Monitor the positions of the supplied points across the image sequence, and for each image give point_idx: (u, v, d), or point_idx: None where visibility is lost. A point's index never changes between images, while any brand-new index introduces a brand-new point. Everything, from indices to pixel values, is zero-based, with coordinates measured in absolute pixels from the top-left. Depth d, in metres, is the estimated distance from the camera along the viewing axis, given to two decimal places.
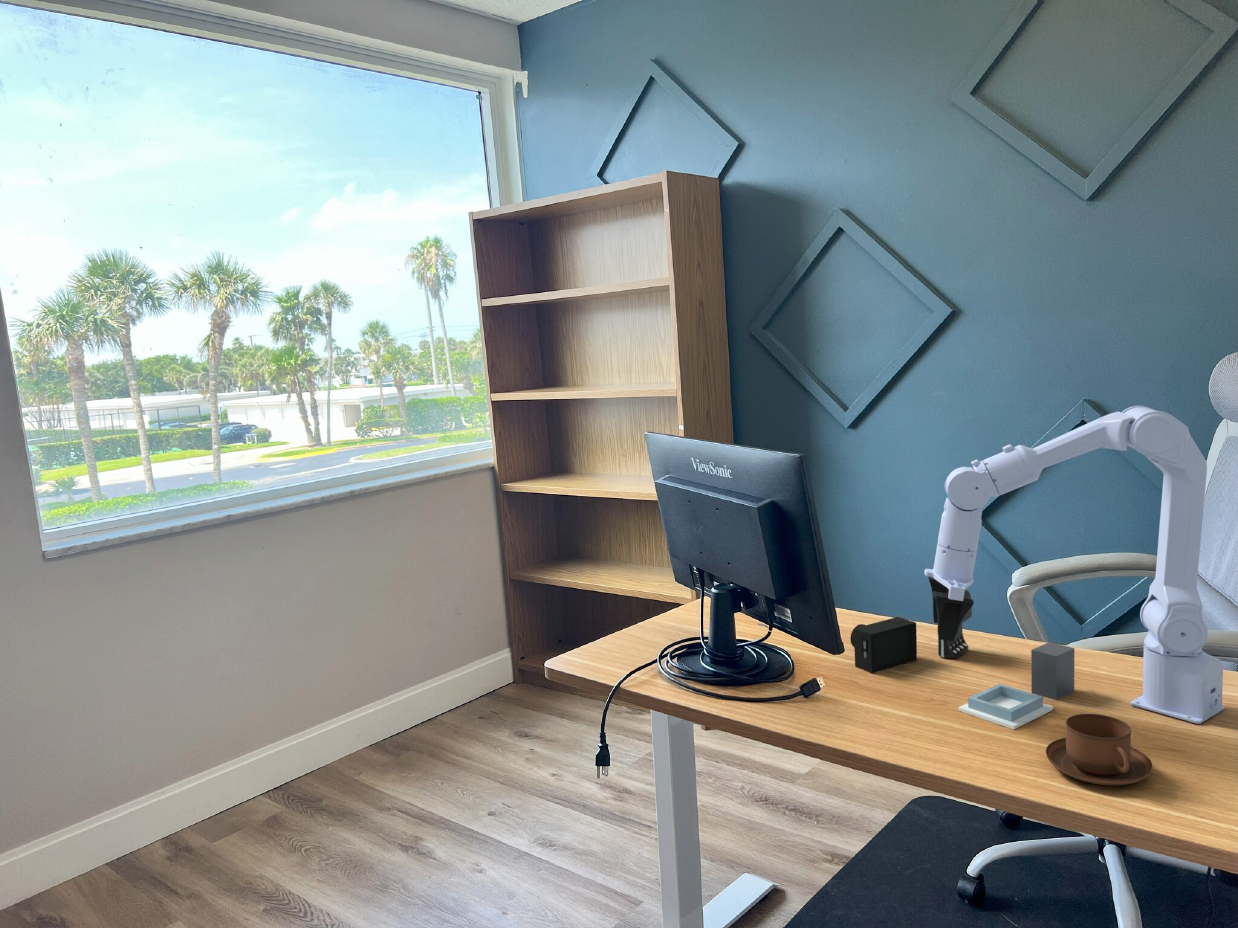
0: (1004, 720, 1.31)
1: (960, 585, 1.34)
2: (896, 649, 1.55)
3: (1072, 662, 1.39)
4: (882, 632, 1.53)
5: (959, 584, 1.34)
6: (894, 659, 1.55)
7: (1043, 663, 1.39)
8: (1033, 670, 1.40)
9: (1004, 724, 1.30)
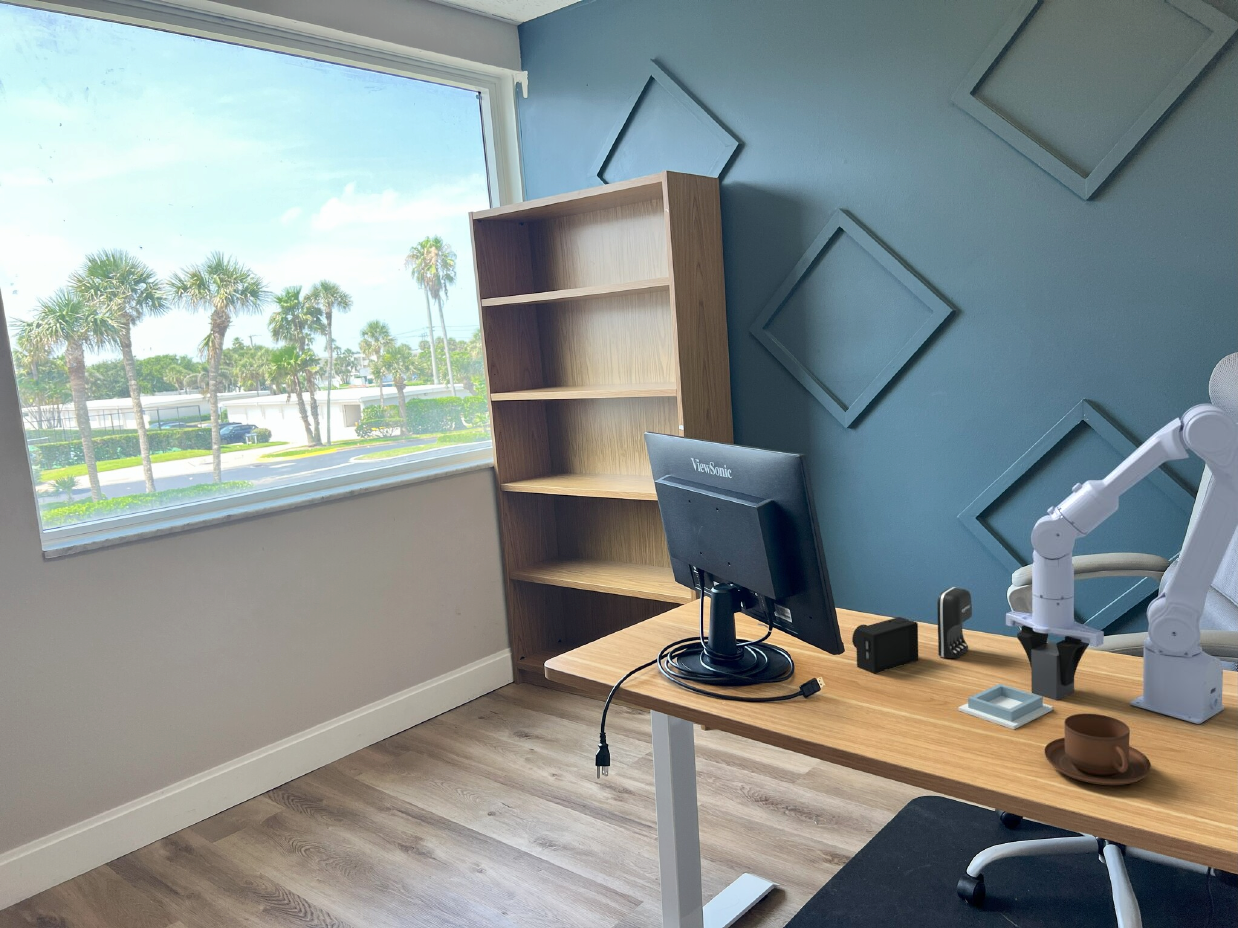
0: (1004, 720, 1.31)
1: (1085, 629, 1.36)
2: (898, 649, 1.55)
3: None
4: (884, 632, 1.53)
5: None
6: (896, 659, 1.55)
7: (1043, 663, 1.39)
8: (1033, 669, 1.40)
9: (1004, 724, 1.30)
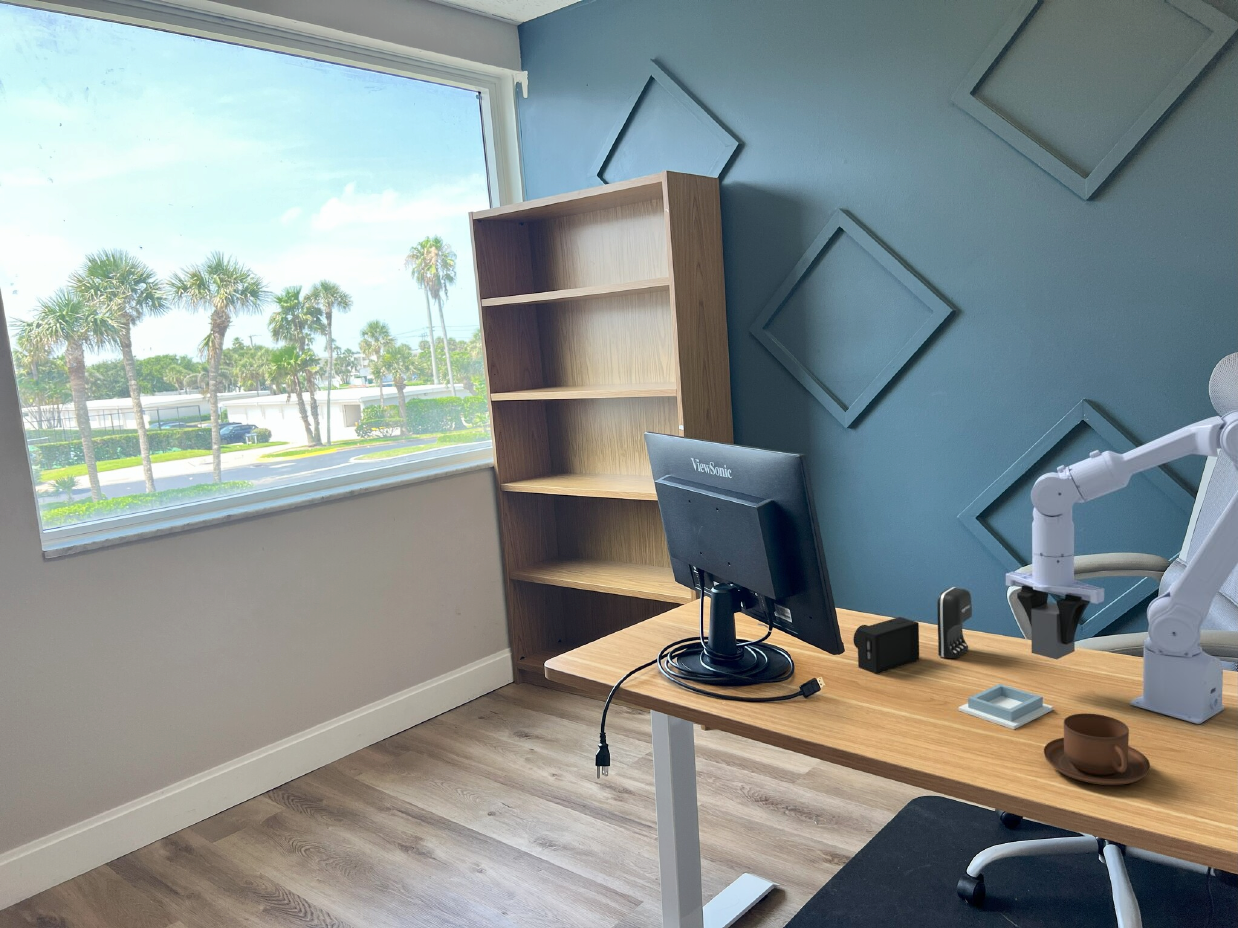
0: (1004, 720, 1.31)
1: (1086, 587, 1.35)
2: (899, 649, 1.55)
3: None
4: (886, 632, 1.53)
5: (1085, 587, 1.35)
6: (897, 659, 1.55)
7: (1043, 622, 1.38)
8: (1033, 629, 1.39)
9: (1004, 724, 1.30)
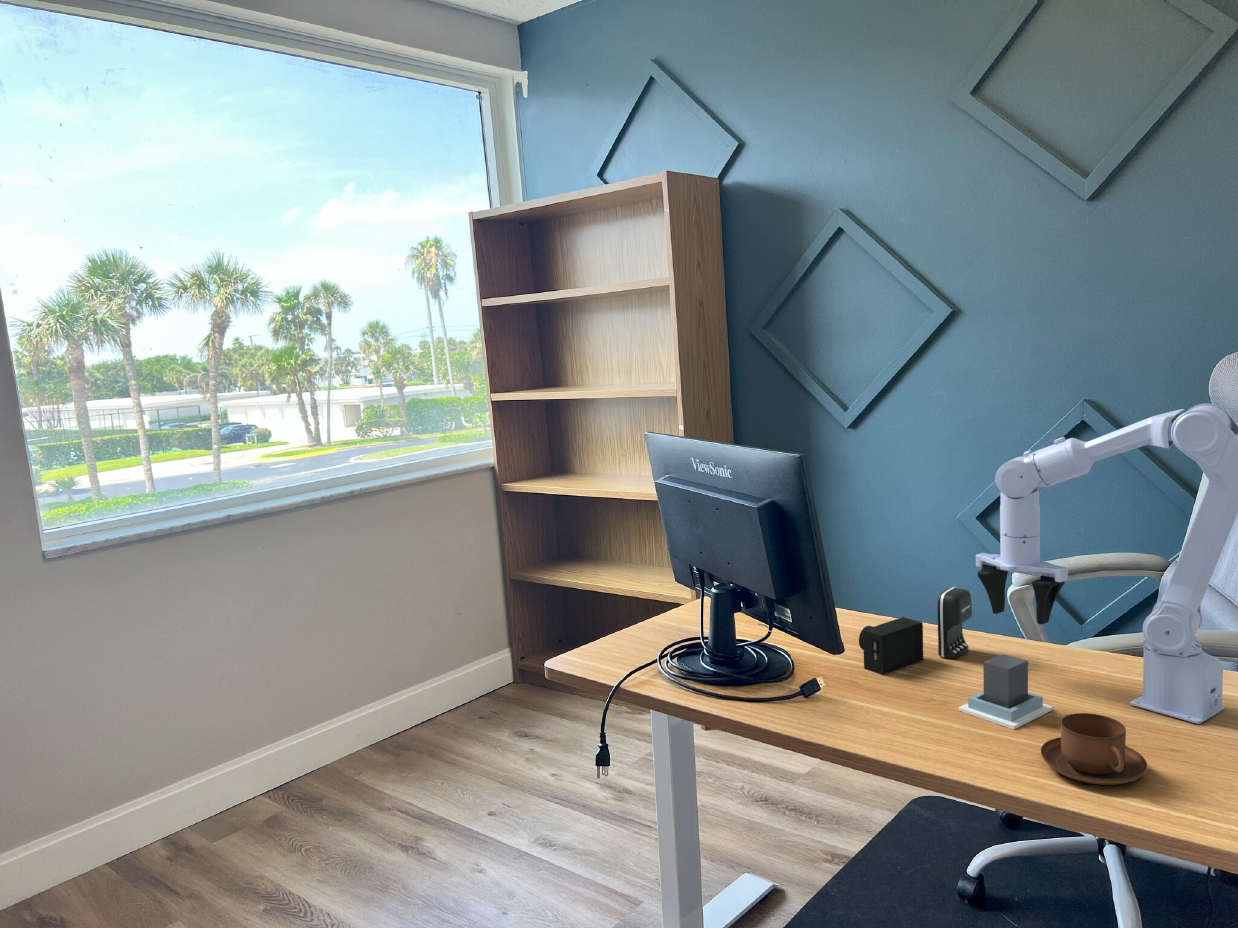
0: (1004, 720, 1.31)
1: None
2: (905, 650, 1.54)
3: (1026, 675, 1.34)
4: (892, 633, 1.52)
5: None
6: (903, 660, 1.54)
7: (995, 676, 1.33)
8: (985, 683, 1.35)
9: (1004, 724, 1.30)
